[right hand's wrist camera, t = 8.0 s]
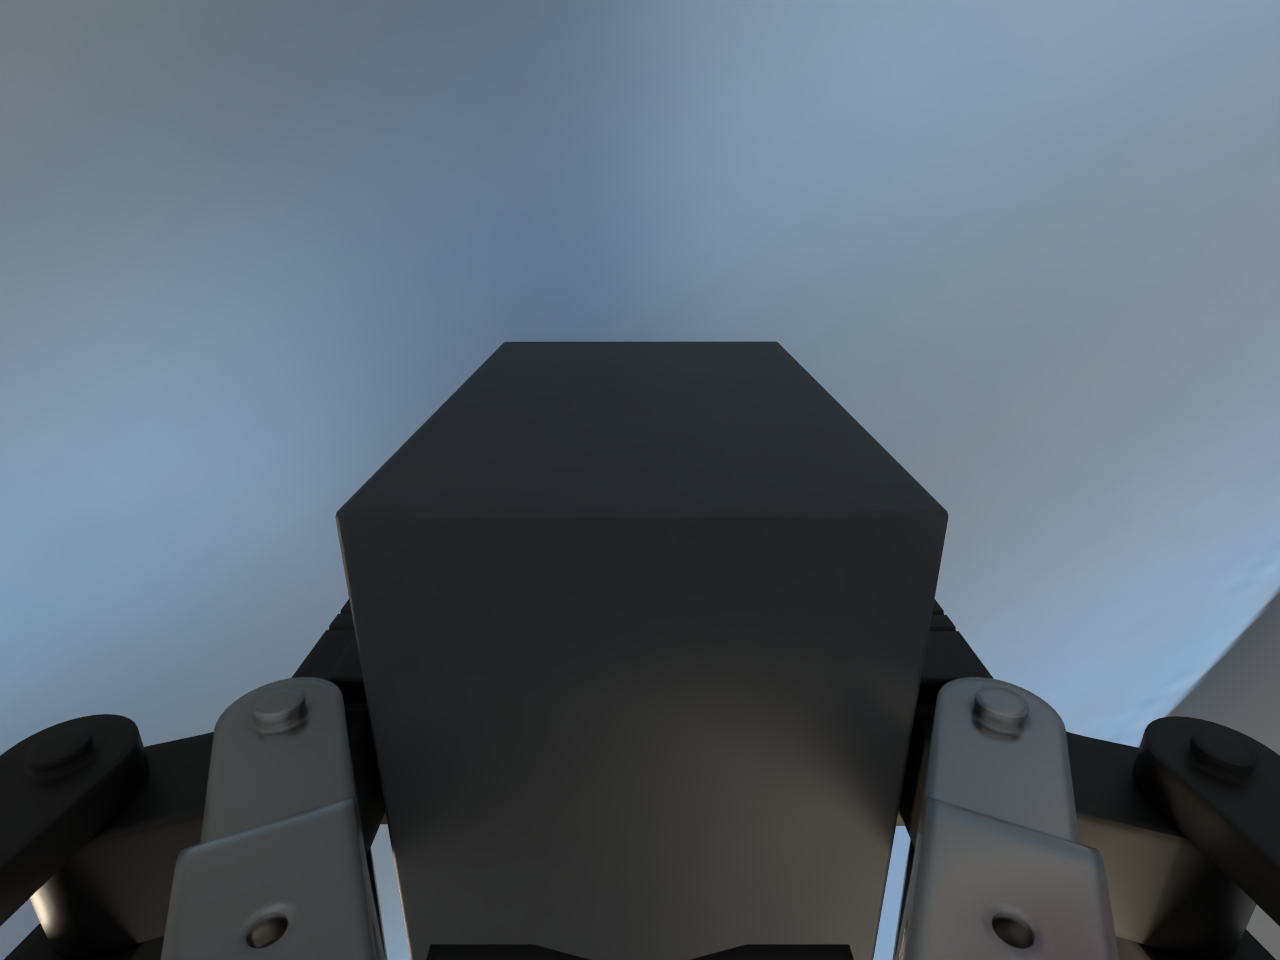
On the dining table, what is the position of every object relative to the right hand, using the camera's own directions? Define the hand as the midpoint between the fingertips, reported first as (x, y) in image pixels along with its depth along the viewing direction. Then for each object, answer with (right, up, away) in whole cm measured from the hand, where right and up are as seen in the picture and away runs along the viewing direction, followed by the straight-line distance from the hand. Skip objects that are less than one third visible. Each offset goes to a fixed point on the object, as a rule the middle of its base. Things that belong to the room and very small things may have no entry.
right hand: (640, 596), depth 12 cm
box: (0, -5, +7) cm, 9 cm away
